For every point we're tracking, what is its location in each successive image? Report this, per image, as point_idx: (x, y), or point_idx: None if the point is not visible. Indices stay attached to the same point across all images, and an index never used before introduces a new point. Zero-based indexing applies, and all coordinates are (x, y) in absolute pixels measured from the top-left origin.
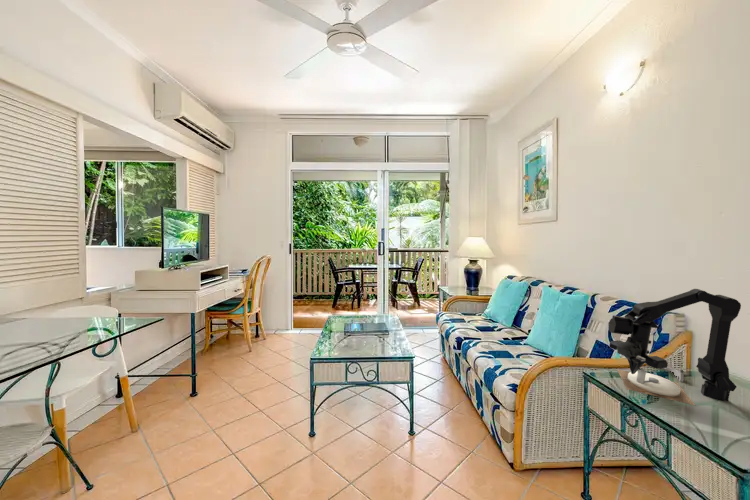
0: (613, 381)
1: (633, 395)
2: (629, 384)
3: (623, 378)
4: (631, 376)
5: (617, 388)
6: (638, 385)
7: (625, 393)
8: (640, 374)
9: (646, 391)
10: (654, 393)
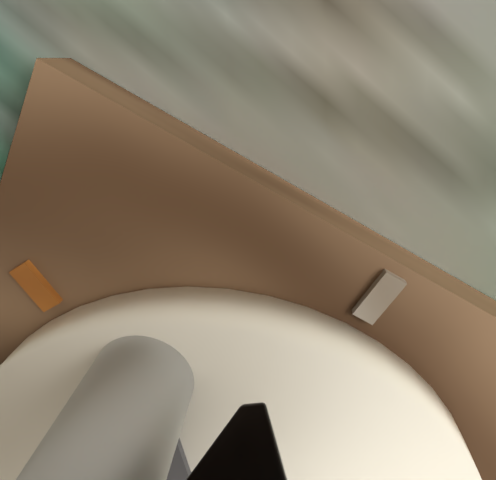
0: (414, 125)
1: (16, 115)
2: (206, 233)
3: (386, 283)
4: (334, 395)
5: (185, 5)
6: (114, 306)
7: (43, 25)
8: (27, 477)
9: (40, 315)
10: None
